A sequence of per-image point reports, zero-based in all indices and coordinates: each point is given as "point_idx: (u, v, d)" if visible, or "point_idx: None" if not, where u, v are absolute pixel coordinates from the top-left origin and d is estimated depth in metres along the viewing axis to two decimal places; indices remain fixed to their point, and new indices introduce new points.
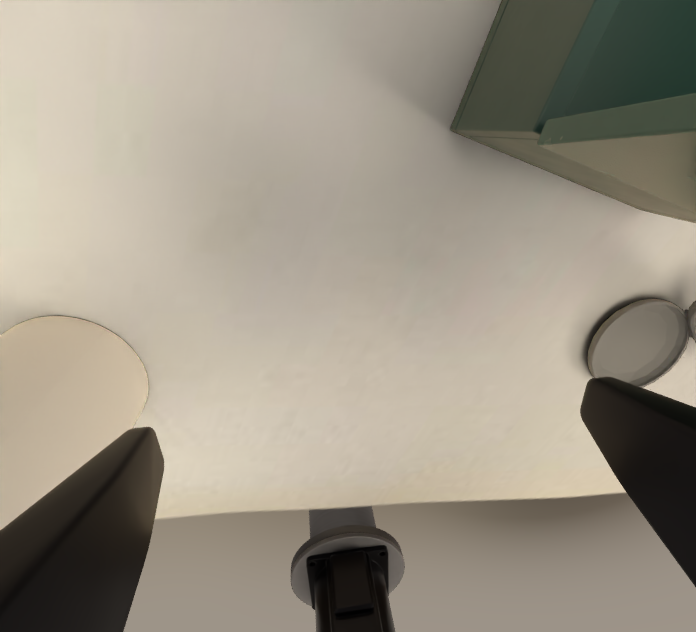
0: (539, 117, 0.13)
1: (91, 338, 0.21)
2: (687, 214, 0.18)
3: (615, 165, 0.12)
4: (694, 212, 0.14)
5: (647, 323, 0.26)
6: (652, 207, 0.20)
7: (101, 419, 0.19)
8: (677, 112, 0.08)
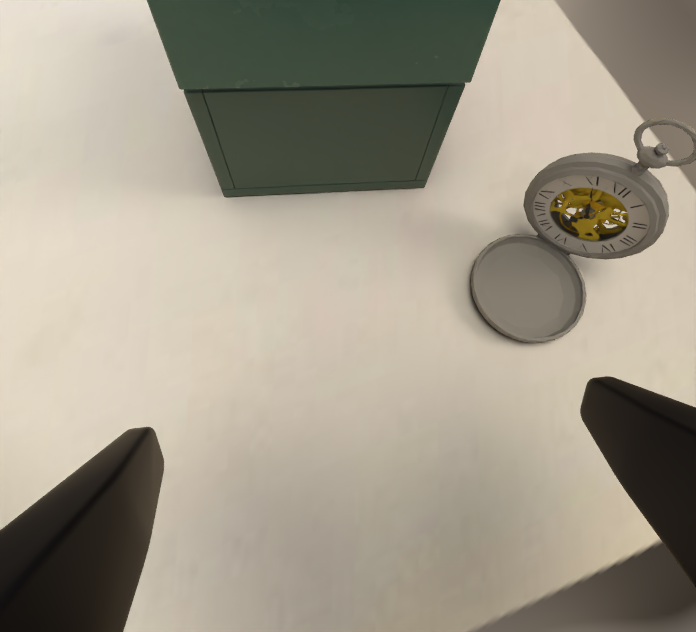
0: None
1: None
2: (405, 133, 0.21)
3: (218, 57, 0.16)
4: (339, 82, 0.17)
5: (519, 266, 0.24)
6: (401, 161, 0.23)
7: None
8: None
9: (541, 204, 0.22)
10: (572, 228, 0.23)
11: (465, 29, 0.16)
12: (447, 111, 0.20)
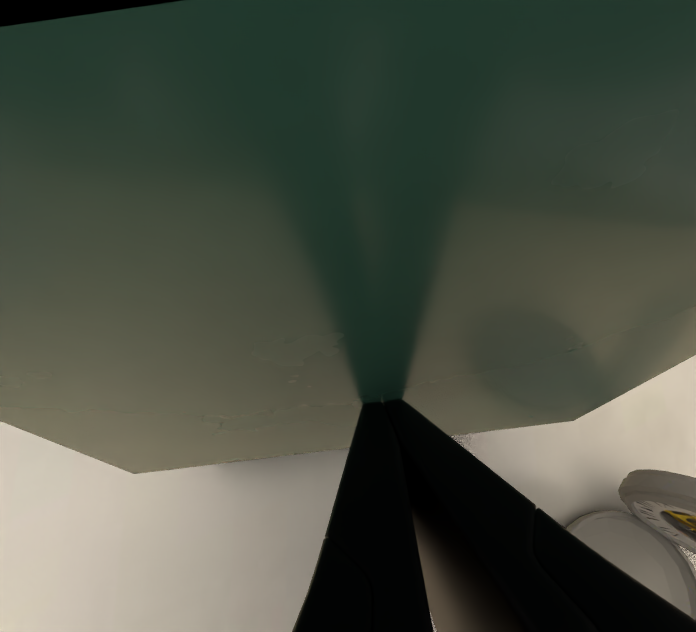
0: None
1: None
2: None
3: (191, 455, 0.10)
4: None
5: (609, 552, 0.18)
6: None
7: None
8: None
9: (648, 504, 0.16)
10: None
11: (583, 399, 0.10)
12: None
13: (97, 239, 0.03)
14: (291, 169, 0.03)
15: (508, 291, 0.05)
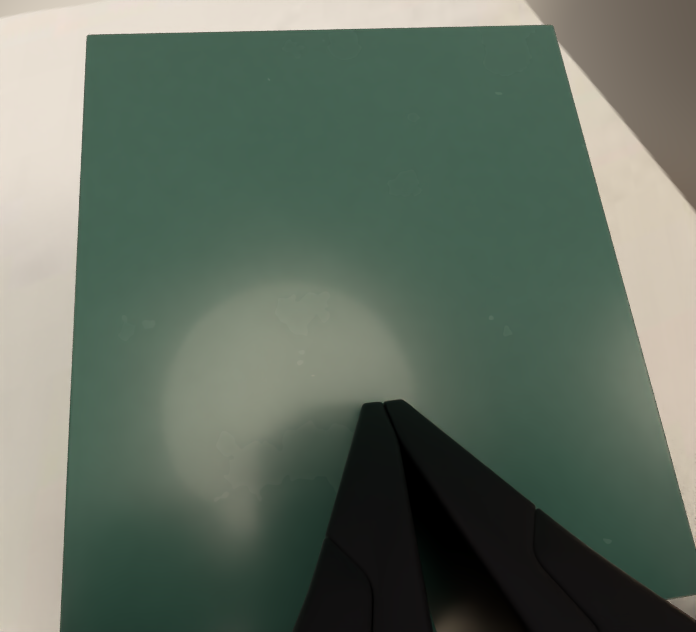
0: None
1: None
2: None
3: (168, 598, 0.08)
4: None
5: None
6: None
7: None
8: None
9: None
10: None
11: (632, 480, 0.09)
12: None
13: (231, 215, 0.09)
14: (299, 188, 0.10)
15: (411, 257, 0.09)
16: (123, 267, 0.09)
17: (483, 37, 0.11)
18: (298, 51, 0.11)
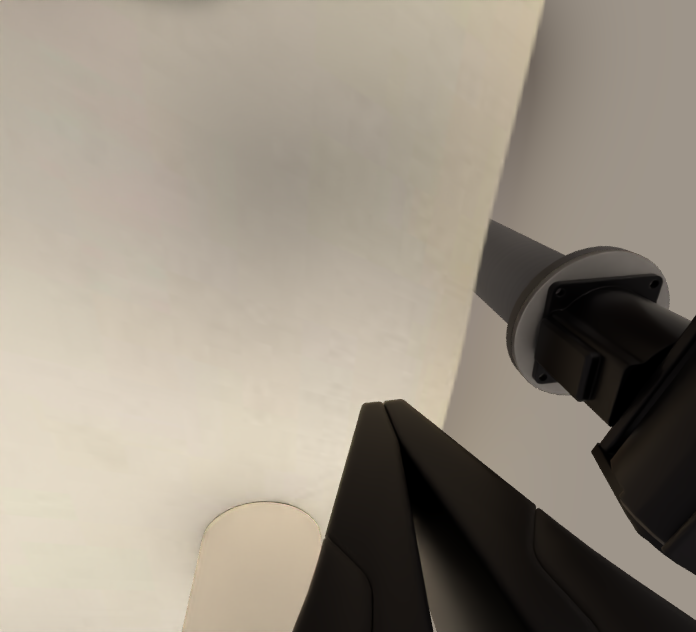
0: None
1: (205, 543, 0.26)
2: None
3: None
4: None
5: None
6: None
7: (229, 587, 0.22)
8: None
9: None
10: None
11: None
12: None
13: None
14: None
15: None
16: None
17: None
18: None
